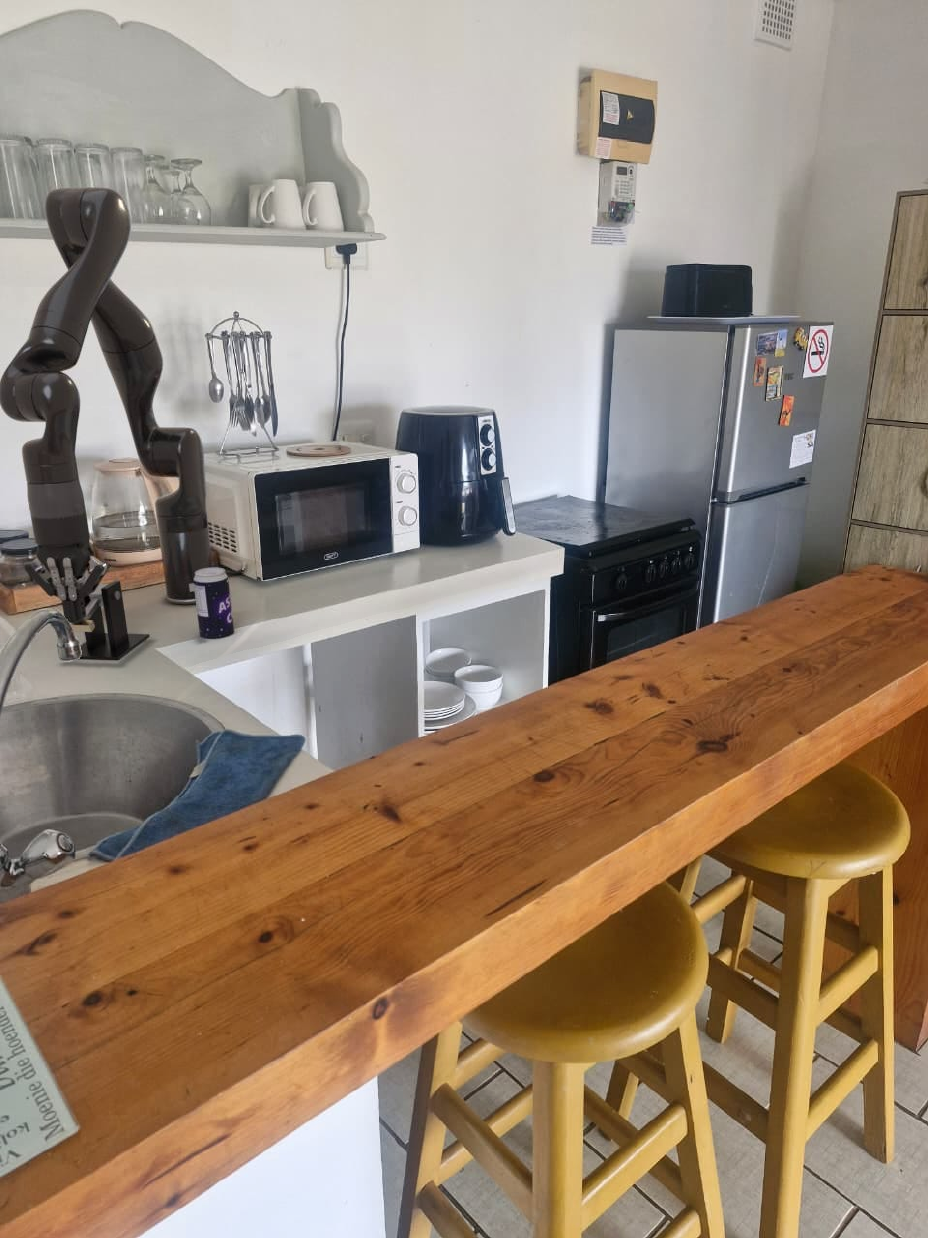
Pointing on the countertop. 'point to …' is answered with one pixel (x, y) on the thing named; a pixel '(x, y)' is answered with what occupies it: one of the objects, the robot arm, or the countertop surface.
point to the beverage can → (213, 603)
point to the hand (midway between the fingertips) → (76, 621)
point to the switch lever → (90, 611)
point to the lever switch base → (110, 628)
